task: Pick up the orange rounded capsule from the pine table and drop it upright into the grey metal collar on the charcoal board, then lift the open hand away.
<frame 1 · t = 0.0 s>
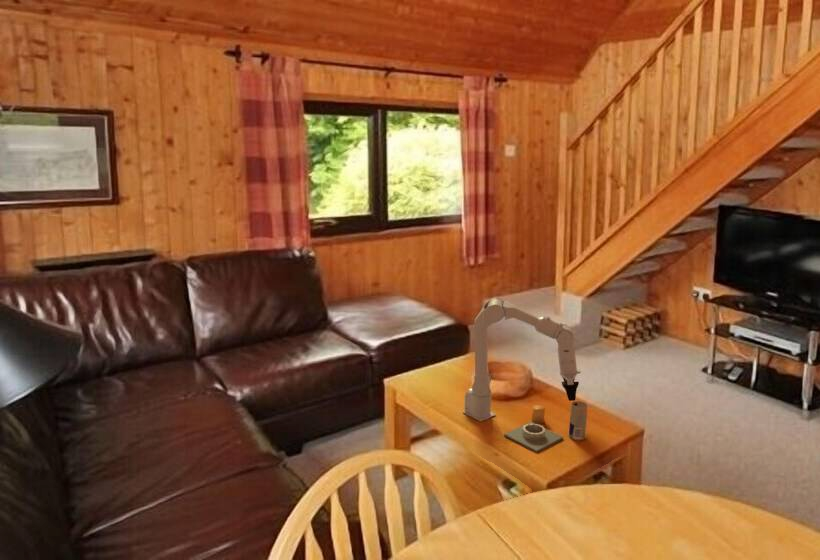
hand: (571, 395, 210), 11 cm above the table, tool pointing down, fingers open, 7 cm apart
energy drink: (576, 437, 203), on the table
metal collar: (533, 432, 202), on the charcoal board, point 2 cm above the table
orange rounded capsule: (537, 420, 214), on the table
charcoal board: (533, 437, 202), on the table
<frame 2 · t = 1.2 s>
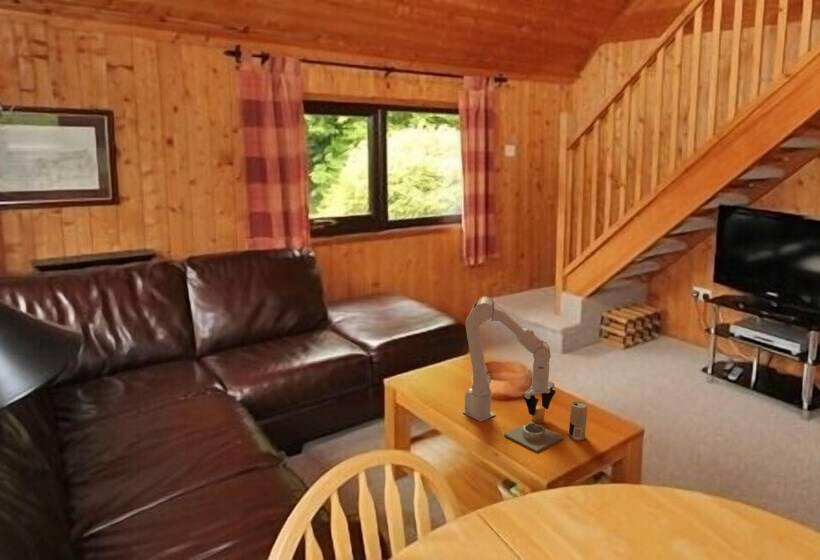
hand: (538, 411, 213), 4 cm above the table, tool pointing down, fingers open, 7 cm apart
nothing on the table moved.
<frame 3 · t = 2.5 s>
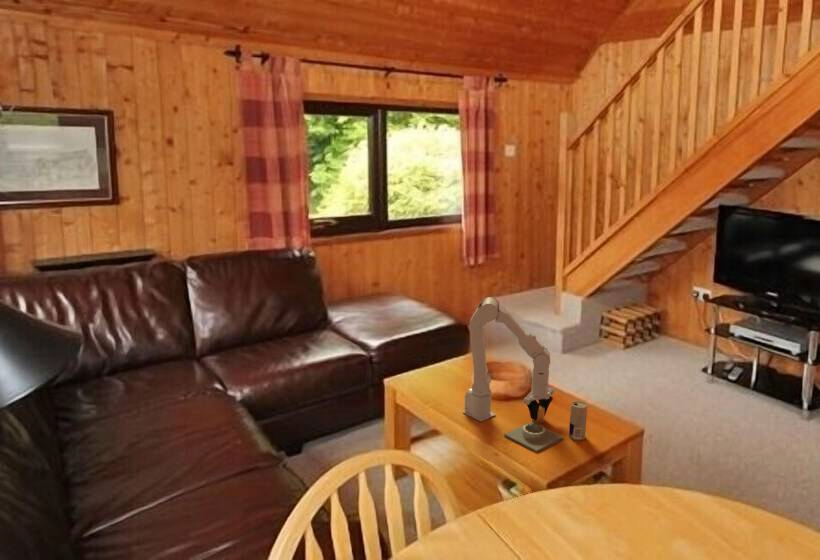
hand: (537, 416, 214), 1 cm above the table, tool pointing down, fingers closed on orange rounded capsule, 4 cm apart
orange rounded capsule: (537, 420, 214), on the table, touching gripper
everything else where it was.
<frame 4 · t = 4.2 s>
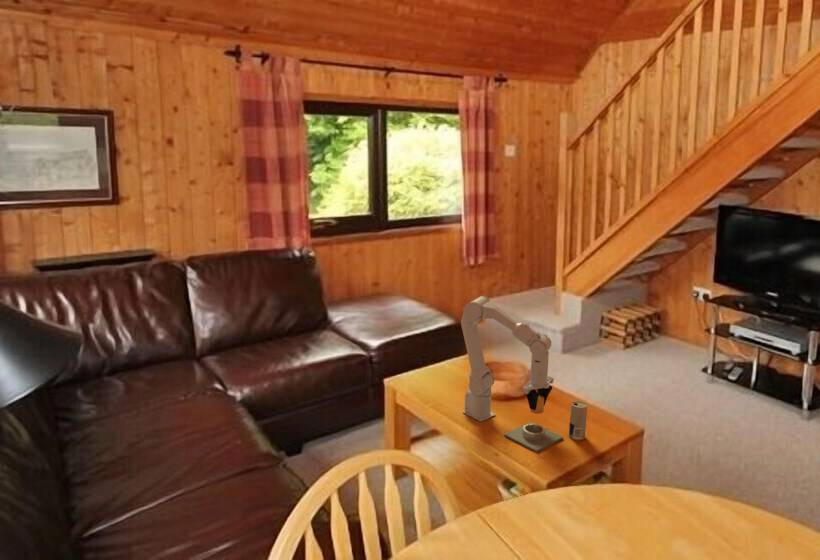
hand: (537, 407, 206), 8 cm above the table, tool pointing down, fingers closed on orange rounded capsule, 4 cm apart
orange rounded capsule: (536, 410, 206), point 7 cm above the table, touching gripper
everything else where it was.
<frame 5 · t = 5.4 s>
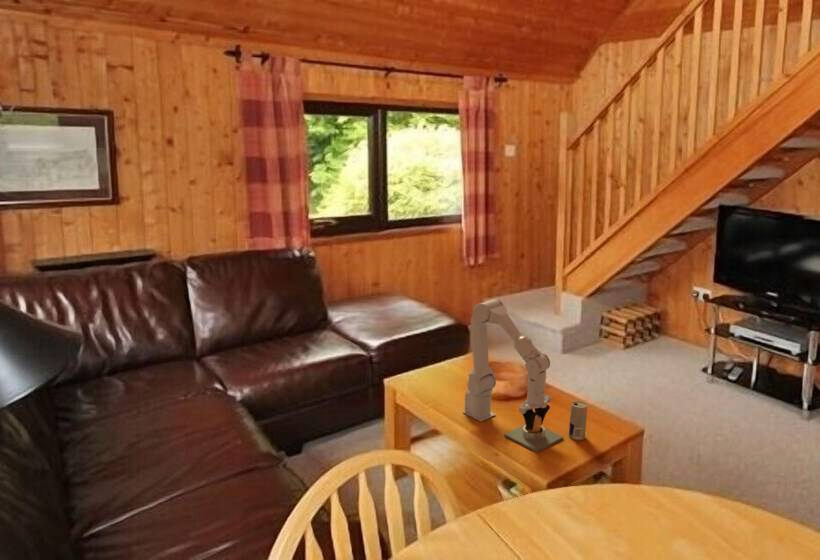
hand: (534, 426, 201), 4 cm above the table, tool pointing down, fingers closed on orange rounded capsule, 4 cm apart
orange rounded capsule: (534, 430, 202), point 3 cm above the table, touching gripper
everything else where it was.
when the fingers open (4 cm above the table, at t = 6.3 s): orange rounded capsule drops 2 cm, resting on charcoal board.
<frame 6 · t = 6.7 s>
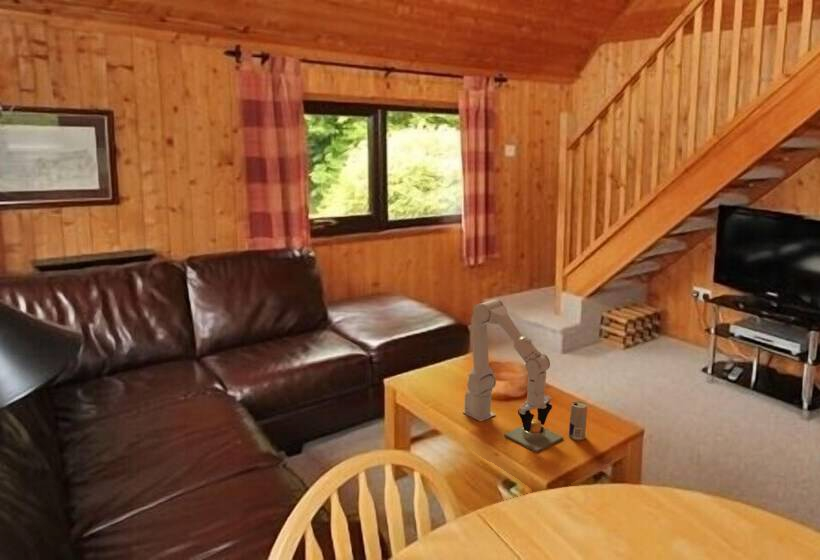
hand: (534, 427, 201), 4 cm above the table, tool pointing down, fingers open, 7 cm apart
orange rounded capsule: (533, 435, 202), point 1 cm above the table, touching charcoal board
everything else where it was.
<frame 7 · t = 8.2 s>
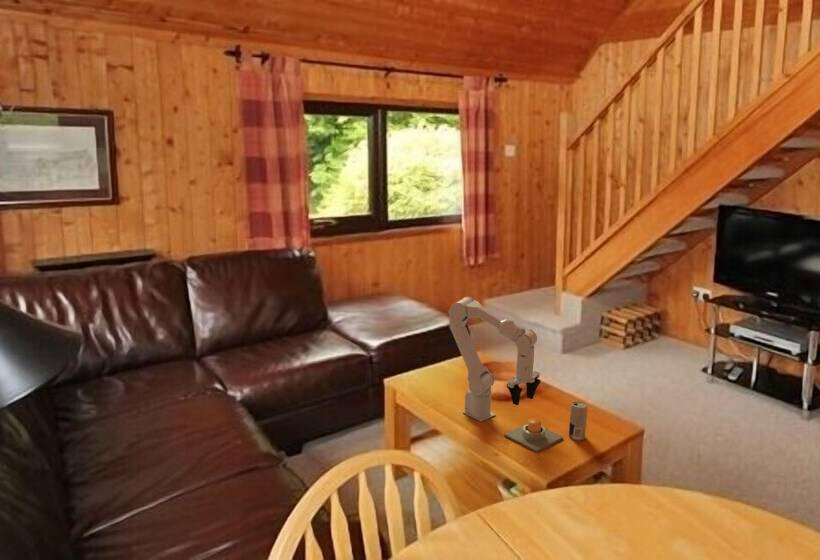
hand: (522, 401, 208), 9 cm above the table, tool pointing down, fingers open, 7 cm apart
nothing on the table moved.
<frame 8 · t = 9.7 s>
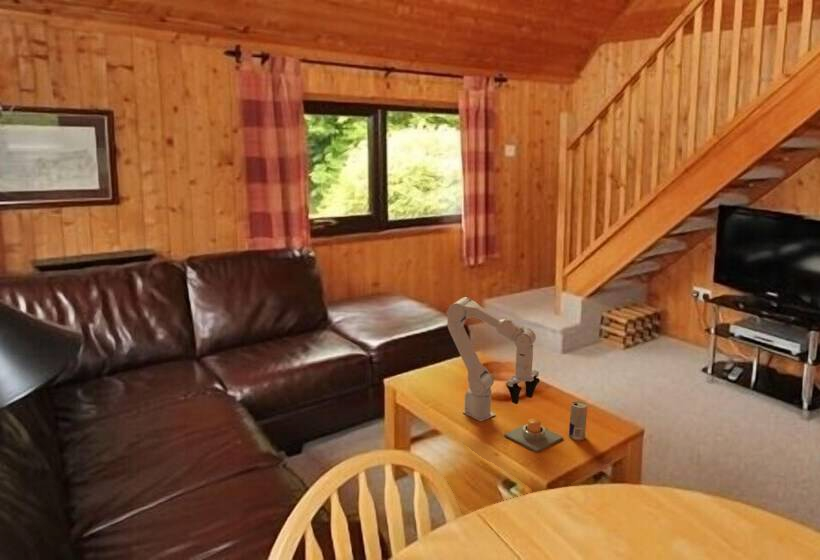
hand: (522, 399, 209), 9 cm above the table, tool pointing down, fingers open, 7 cm apart
nothing on the table moved.
at the end: orange rounded capsule 0.1 cm off-centre on the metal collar, point 0.9 cm above the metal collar's base; orange rounded capsule tilted 2°; the gripper is holding nothing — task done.
